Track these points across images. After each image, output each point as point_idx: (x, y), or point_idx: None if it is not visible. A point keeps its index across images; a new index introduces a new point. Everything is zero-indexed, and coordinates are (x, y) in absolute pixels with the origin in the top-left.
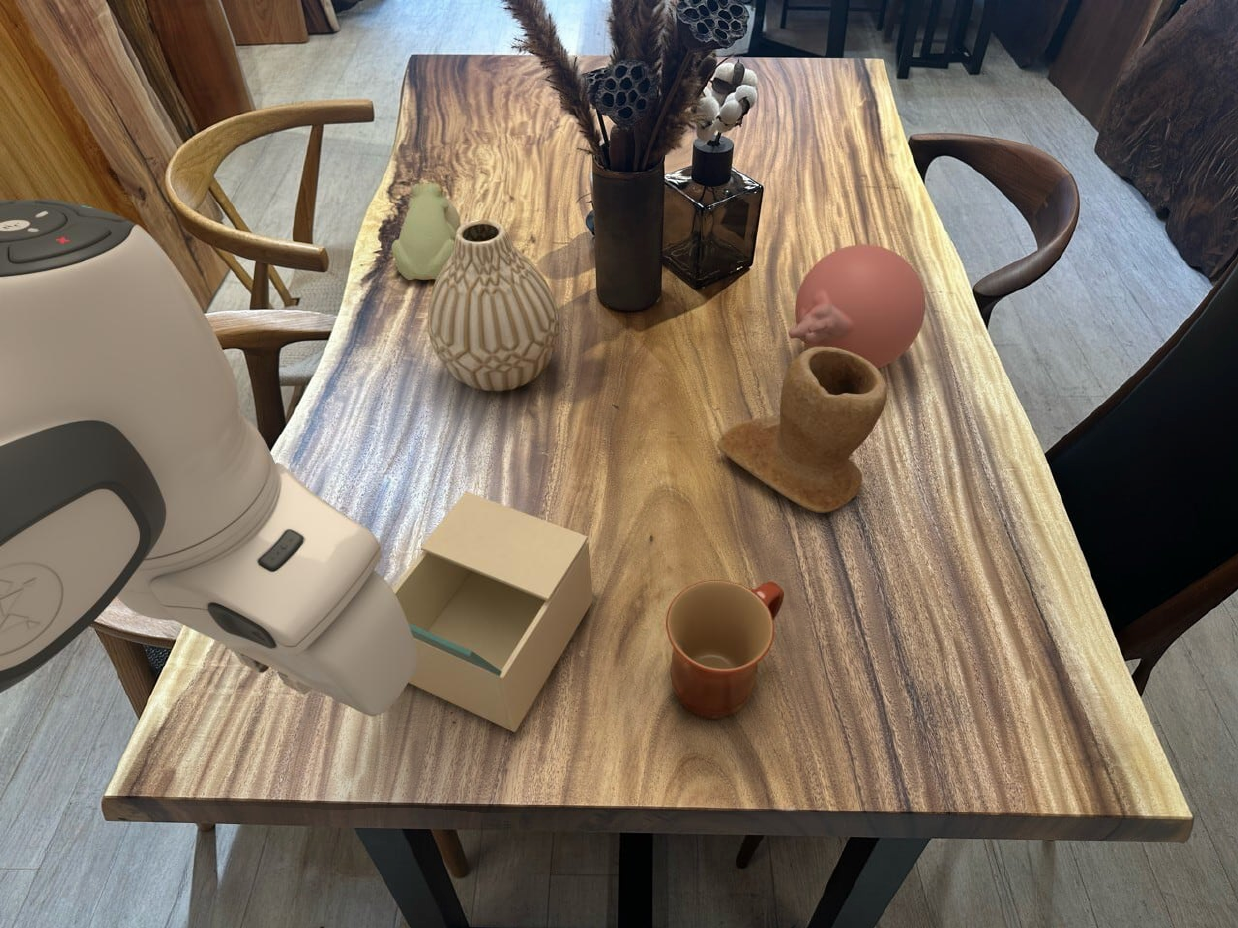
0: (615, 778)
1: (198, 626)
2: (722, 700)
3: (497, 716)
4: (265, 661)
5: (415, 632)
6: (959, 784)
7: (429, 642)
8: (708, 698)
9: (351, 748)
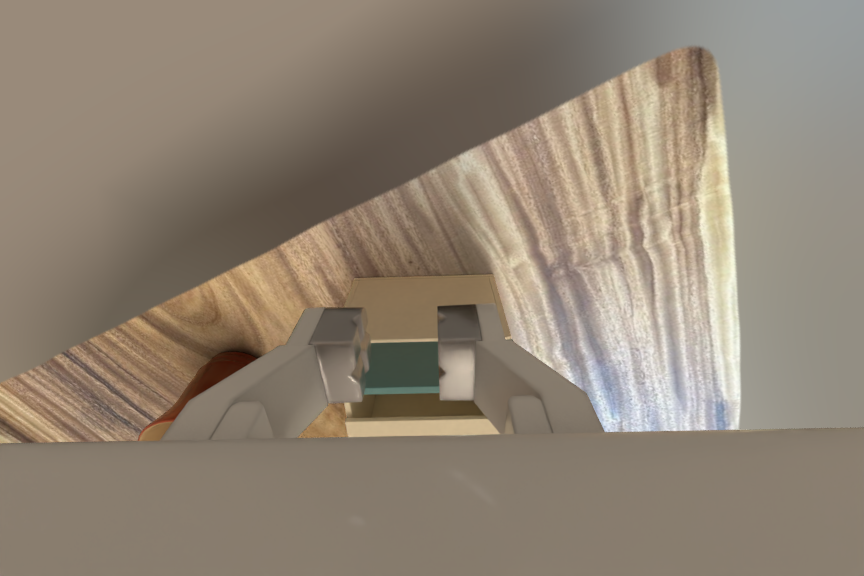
0: (253, 281)
1: (539, 531)
2: (194, 379)
3: (368, 286)
4: (113, 509)
5: (377, 386)
6: (49, 379)
7: (397, 357)
8: (203, 377)
9: (486, 198)
